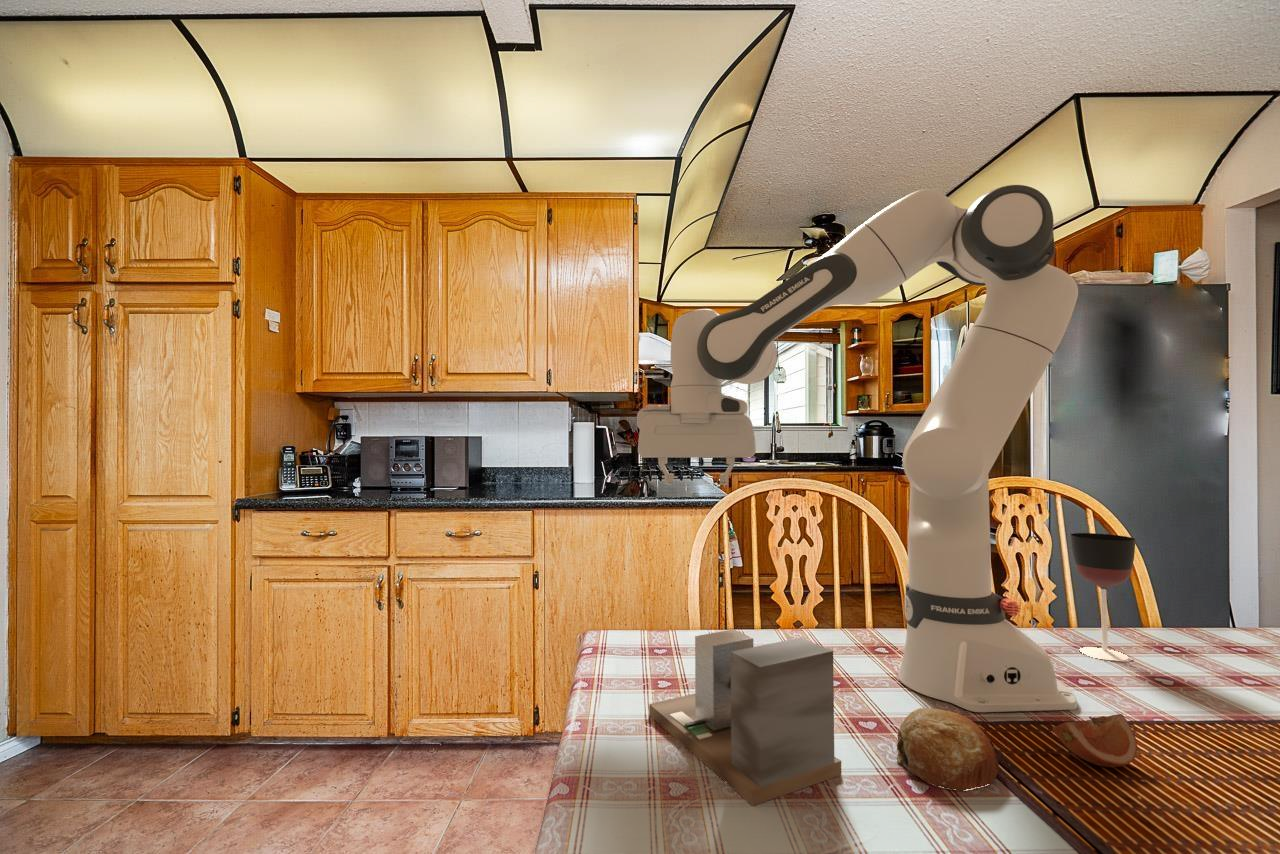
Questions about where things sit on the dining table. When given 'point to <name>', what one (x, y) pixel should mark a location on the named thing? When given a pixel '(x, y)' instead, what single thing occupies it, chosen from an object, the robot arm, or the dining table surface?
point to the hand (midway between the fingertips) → (696, 484)
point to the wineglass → (1103, 574)
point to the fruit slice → (1100, 740)
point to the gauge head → (715, 676)
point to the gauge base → (766, 721)
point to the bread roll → (946, 749)
